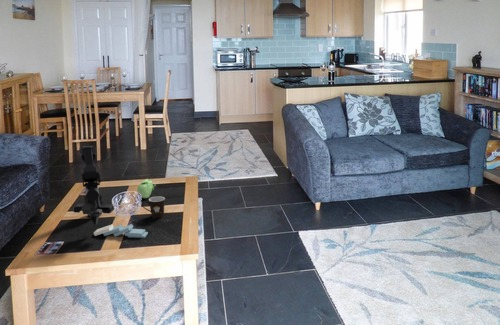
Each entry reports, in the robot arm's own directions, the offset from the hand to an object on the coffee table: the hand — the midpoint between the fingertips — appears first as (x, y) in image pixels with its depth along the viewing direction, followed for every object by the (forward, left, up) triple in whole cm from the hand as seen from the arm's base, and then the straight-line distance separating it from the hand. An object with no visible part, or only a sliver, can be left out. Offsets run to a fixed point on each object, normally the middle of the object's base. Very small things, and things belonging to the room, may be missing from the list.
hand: (95, 224), depth 226 cm
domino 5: (+17, 0, -5) cm, 18 cm away
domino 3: (+10, 0, -4) cm, 11 cm away
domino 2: (+5, 0, -4) cm, 7 cm away
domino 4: (+16, 0, -3) cm, 16 cm away
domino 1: (0, 0, -4) cm, 4 cm away
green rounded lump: (+9, +56, -5) cm, 57 cm away
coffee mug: (+23, +26, -5) cm, 35 cm away
